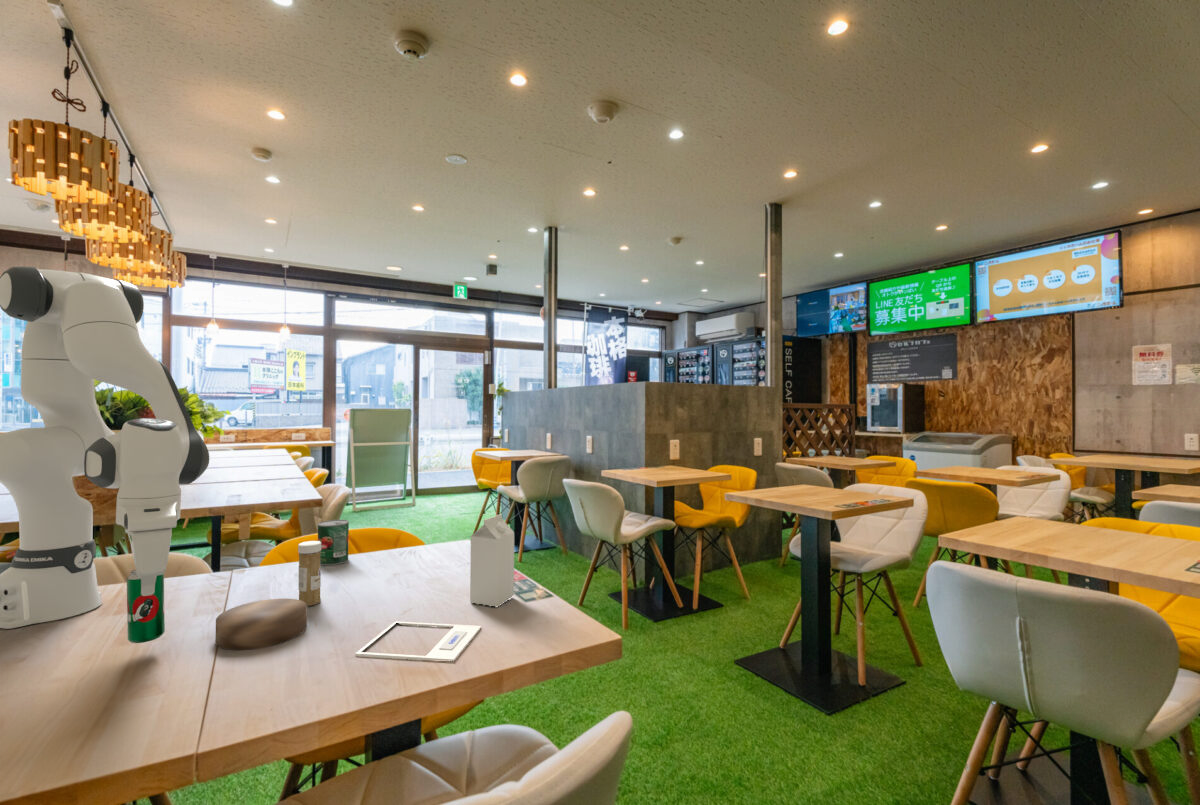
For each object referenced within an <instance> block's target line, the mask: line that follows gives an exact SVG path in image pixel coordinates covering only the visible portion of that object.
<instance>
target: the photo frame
mask: <svg viewBox="0 0 1200 805" xmlns="http://www.w3.org/2000/svg"><path fill="white" fill-rule="evenodd" d="M396 623H401V624H400V626H401V625H413V626H412V627H419V626H437V627H453V628H450V630H449V631H448V632H447V633H446V634H445V635H444V636H443V637H442V638H441V639H440V641H438V642H437V643H436V644H435V645H434V647H433V648H432V649H431V650H430V651H429V652H428V653H427V654H426V655H416V654H399V653H397V654H396V653H382V652H366V651H365V652H364V650H365V649H366V648H368V647H369V646H371V644H373V643H375V642H376V640H378V639H379V638H380V637H381V636H383V635H384V634H385V633H386V632H388V630H390V629H391V628H392V627H394V626H395V625H397V624H396ZM417 625H418V626H417ZM437 627H436V628H437ZM480 628H481V629H482V625H472V624H450V623H433V622H432V623H431V622H412V621H394V622H393V623H391V624H390V625H389V626H387V627H386V628H385V629H384V630H382V631H381V632H380V633H379V634H377V636H375V637H374V638H372V639H371V640H369V642H368V643H366V644H364V646H362V647H361V648H360V649H359V650H358V651H356V652H355V654H354V657H358V658H359V657H360V658H375V659H390V658H391V659H393V660H406V659H408V660H409V661H410V659H411V661H422V660H447V661H448V660H450V661H451V660H452V661H454V660H455V659H456V658H457V656H458V655H459V654H460V653H461V652H462V650H463V649H464V648H465V647H466V646H467V644H468V643H469V642H470V641H471V640H472V638H473V637H474V636H475V635H476V633H477V632H478V631H479V630H480ZM480 631H481V630H480ZM480 631H479V632H480ZM479 632H478V633H479ZM478 633H477V634H478ZM476 636H477V635H476ZM476 636H475V637H476ZM475 637H474V638H475ZM474 638H473V639H474ZM472 641H473V640H472ZM472 641H471V642H472ZM471 642H470V643H471ZM470 643H469V644H470ZM469 644H468V645H469ZM467 647H468V646H467ZM467 647H466V648H467ZM466 648H465V649H466ZM465 649H464V650H465ZM462 653H463V652H462ZM462 653H461V654H462ZM461 654H460V655H461ZM457 659H458V658H457ZM457 659H456V660H457ZM456 660H455V661H456Z"/></svg>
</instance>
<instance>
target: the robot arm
mask: <svg viewBox="0 0 1200 805" xmlns="http://www.w3.org/2000/svg"><path fill="white" fill-rule="evenodd" d="M144 307H145V306H144V297H143V294H142V292H141V291H140V289H139V288H138V287H137V286H136V285H134V284H132V283H130V282H127V281H125V280H124V281H123V280H120V279H116V278H115V279H111V278H108V277H104V276H99V275H95V274H90V273H87V272H86V273H84V272H79V271H76V272H73V271H65V270H57V269H46V268H45V269H44V268H41V269H40V268H36V267H35V266H13V267H9V268H8V269H7V270H5V271H4V272H2V274H1V275H0V309H1V310H2V311H3V312H4V313H5V314H6V315H7V316H8V317H10V318H14V319H17V320H20V321H24V322H25V321H26V326H25V328H24V329H25V330H24V333H23V339H22V345H21V358H20V359H21V360H20V361H21V362H20V368H21V369H20V372H21V373H20V379H21V380H20V395H21V397H22V399H23V400H24V401H25V402H26V404H27V403H28V405H30V406H32V407H33V408H34V409H36V410H37V412H38V413H39V414H40V416H41V419H42V421H43V425H44V427H26V428H25V427H24V428H20V429H15V430H12V431H7V432H4V433H0V484H2V485H3V486H4V487H5V488H6V489H7V491H9V494H10V495H11V497H12V499H13V501H14V503H15V506H16V508H17V513H18V523H19V525H18V528H19V547H18V548H17V549H16V550H12V551H8V552H6V554H7V556H6V559H9V558H12V560H11V562H10V565H9V566H10V567H9V568H7V569H5V570H4V571H2V573H0V629H7V630H8V629H15V628H20V627H24V626H29V625H33V624H39V623H45V622H53V621H58V620H62V619H66V618H70V617H75V616H78V615H80V614H81V615H82V614H84V613H86V612H87V613H88V612H90V611H92V610H94V609H96V608H98V607H100V606H101V605H102V604H103V601H102V599H101V598H102V593H101V591H99V586H98V579H97V571H96V564H95V563H94V559H95V558H94V557H95V556H96V548H97V545H96V540H95V539H93V526H94V524H93V523H94V522H93V521H94V519H93V518H94V515H93V514H94V511H93V510H94V508H93V505H92V503H91V502H90V500H87V499H86V498H84V497H82V496H80V494H78V493H77V490H76V488H75V486H74V483H73V478H74V477H78V476H80V477H81V476H85V478H86V479H87V480H88V481H90V482H91V483H92V484H93V485H95V486H97V487H99V488H102V489H103V488H104V489H105V488H106V489H118V492H117V495H116V504H115V505H116V509H115V523H116V525H118V526H122V528H124V533H125V534H128V535H129V536H130V537H131V544H130V545H131V546H130V549H131V555H132V558H133V562H134V566H135V570H136V573H137V576H138V577H139V578H141V595H142V596H148V595H152V594H154V592H155V582H156V577H157V576H158V575H163V574H164V575H165V573H166V570H167V566H168V561H169V554H170V548H171V541H172V532H173V528H177V524H178V522H177V521H178V520H180V518H181V500H182V489H181V485H190V484H192V483H193V482H195V481H196V480H197V479H199V478H200V477H201V476H202V475H203V473H205V472H206V470H207V469H208V467H209V464H210V452H209V449H208V447H207V444H206V443H205V441H204V439H203V438H202V437H201V435H200V433H199V432H198V431H197V429H196V428H195V425H194V424H193V421H192V419H191V416H190V414H189V412H188V410H187V407H186V404H185V402H184V400H183V398H182V396H181V393H180V392H179V388H178V387H177V384H176V382H175V380H174V378H173V376H172V375H171V374H172V373H170V370H169V369H168V367H167V366H166V365H165V364H164V363H163V362H161V361H159V360H158V359H156V358H155V357H154V356H153V355H152V353H151V352H149V350H148V349H147V348H146V346H145V345H144V343H143V342H142V339H141V337H140V334H139V330H138V325H137V324H138V323H140V321H141V320H142V317H143V314H144ZM95 380H96V381H97V382H100V383H105V384H109V385H112V386H116V387H118V388H122V389H124V390H128V391H130V392H132V393H134V394H137V396H140V397H141V398H143V399H144V400H145V401H146V402H147V403H148V404H149V405H150V407H151V409H152V412H153V415H154V416H155V417H153V418H152V417H150V418H149V417H147V418H146V417H144V418H143V417H142V418H141V417H139V418H134V419H130V420H129V419H128V420H127V421H126V422H124V423H123V425H122V428H121V430H120V431H118V432H115V431H113V430H111V429H110V427H108V426H107V424H106V422H105V420H104V419H103V417H102V415H101V412H100V410H99V408H98V405H97V404H98V403H97V399H96V393H95ZM8 554H9V555H8Z"/></svg>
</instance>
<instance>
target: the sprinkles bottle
mask: <svg viewBox="0 0 1200 805" xmlns="http://www.w3.org/2000/svg"><path fill="white" fill-rule="evenodd" d="M297 549H298V550H297V553H298V600H301V601H303V602H305V603H306V604H307V607H311V606H315V605H317V604H319V603H321V601H322V599H321V586H322V585H321V578H322V577H321V575H322V573H321V569H322V568H321V565H320V552H321V542H320V541H318V540H308V541H303V542H301V543H298V547H297Z"/></svg>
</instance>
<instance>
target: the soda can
mask: <svg viewBox="0 0 1200 805" xmlns="http://www.w3.org/2000/svg"><path fill="white" fill-rule="evenodd" d="M165 615H166V614H165V573H164V574H163V575H158V576H157V577H156V582H155V592H154V594H152V595H148V596H142V595H141V578H139V577H138V576H137V573H136V569H134V570H130V572H129V575H128V576H127V578H126V616H127V617H126V618H127V619H126V622H127V623H126V624H127V626H126V627H127V628H126V629H127V634H126V635H127V640H128V641H129V642H130V643H131V644H141V643H148V642H152V641H154V640H158V639H159V638H161V637H162V636H163V635H164V633H165V631H166V629H165V624H166V621H165V619H166V618H165Z"/></svg>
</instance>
